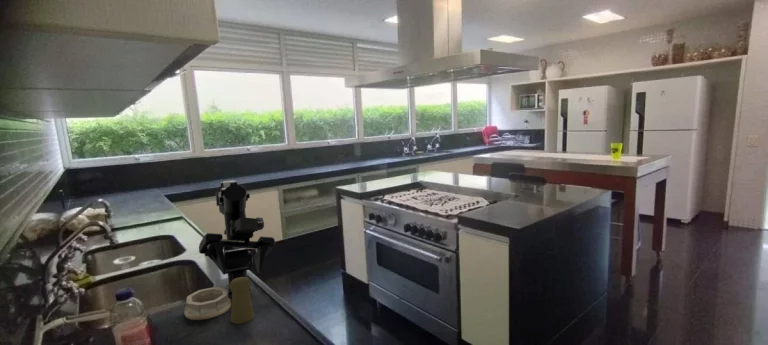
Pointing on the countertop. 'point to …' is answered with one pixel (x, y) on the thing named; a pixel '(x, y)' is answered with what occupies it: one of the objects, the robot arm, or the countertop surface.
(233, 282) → the olive brown tapered peg
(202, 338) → the countertop surface
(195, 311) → the dock socket
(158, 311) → the countertop surface
